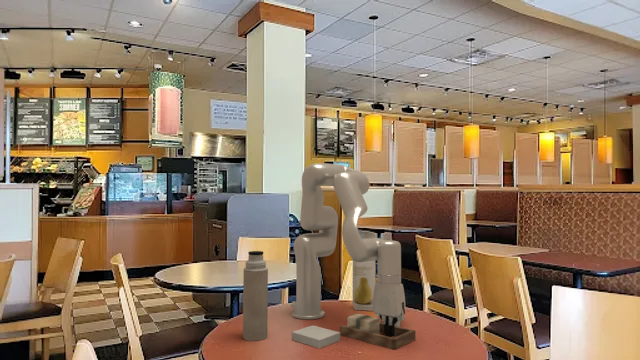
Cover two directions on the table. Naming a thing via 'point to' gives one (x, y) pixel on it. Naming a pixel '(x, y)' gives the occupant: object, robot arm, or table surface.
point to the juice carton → (363, 284)
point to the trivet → (316, 336)
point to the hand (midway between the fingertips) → (389, 336)
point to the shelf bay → (380, 336)
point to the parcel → (364, 323)
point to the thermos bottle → (255, 297)
